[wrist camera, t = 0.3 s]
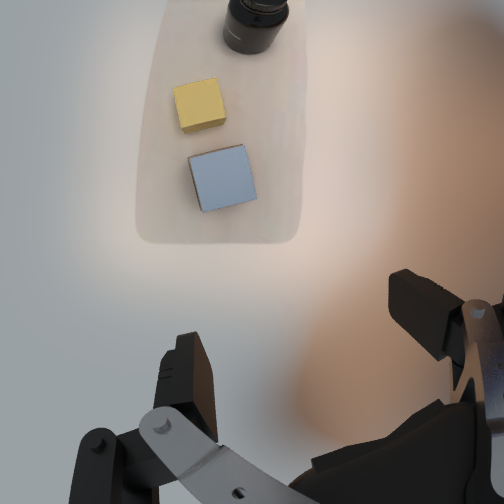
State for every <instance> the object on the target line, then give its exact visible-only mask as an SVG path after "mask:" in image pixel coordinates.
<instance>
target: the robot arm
mask: <svg viewBox="0 0 504 504" xmlns="http://www.w3.org/2000/svg"><path fill="white" fill-rule="evenodd" d="M388 308H389V312H390V315H391V317H392V318H393V319H394V320H395V321H396V322H397V323H398V324H399V325H400V326H401V327H402V328H403V329H404V330H406V331H407V332H408V333H409V334H410V335H411V336H412V337H413V338H414V339H415V340H416V341H417V342H418V343H419V344H420V345H421V346H422V347H424V348H425V349H426V350H427V351H428V352H429V353H430V354H431V355H432V356H433V357H434V358H435V359H436V360H437V361H440V360H442V359H443V358H445V357H446V356H449V357H450V361H449V386H450V399H449V404H448V405H444V404H443V403H442V402H441V401H440V399H437V400H436V401H434V402H433V403H431V404H429V405H428V406H426V407H425V408H423V409H421V410H420V411H418V412H416V413H415V414H413V415H412V416H411V417H409V418H408V419H407V420H406V421H405V422H404V423H403V424H402V425H400V426H399V427H398V428H397V429H396V430H395V431H393V432H392V433H391V434H390V435H388V436H387V437H385V438H382V439H378V440H374V441H370V442H365V443H360V444H355V445H350V446H346V447H343V448H341V449H338V450H335V451H333V452H330V453H327V454H324V455H322V456H318V457H315V458H312V459H311V462H312V468H311V469H309V470H307V471H306V472H304V473H303V474H301V475H300V476H298V477H297V478H296V479H295V480H294V481H293V482H291V483H290V484H289V485H288V486H286V485H284V484H283V483H281V482H279V481H278V480H276V479H274V478H273V477H271V476H270V475H268V474H266V473H265V472H263V471H262V470H260V469H259V468H257V467H256V466H254V465H253V464H251V463H250V462H248V461H247V460H245V459H244V458H243V457H241V456H240V455H238V454H237V453H236V452H234V451H233V450H231V449H230V448H228V447H227V446H225V445H222V446H219V445H218V444H216V443H217V442H218V433H217V422H216V410H215V397H214V384H213V373H212V368H211V365H210V362H209V359H208V357H207V355H206V352H205V350H204V347H203V345H202V342H201V340H200V337H199V335H198V333H197V332H191V333H187V334H182V335H178V336H177V339H176V348H175V349H174V350H169V351H167V353H166V354H165V355H164V357H163V358H162V360H161V363H160V369H159V370H160V372H159V375H158V381H157V387H156V393H155V399H154V406H153V410H151V411H149V412H148V413H147V414H145V416H144V417H143V418H142V419H141V421H140V424H139V428H137V429H135V430H132V431H129V432H126V433H124V434H120V435H118V436H116V435H115V434H114V433H113V432H112V431H111V430H109V429H107V428H96V429H93V430H91V431H89V432H88V433H87V434H86V435H85V436H84V437H83V438H82V440H81V443H80V446H79V450H78V455H77V459H76V464H75V469H74V474H73V480H72V485H71V492H70V497H69V504H160V503H159V486H161V485H164V484H167V483H170V482H173V481H176V480H179V481H180V483H181V484H182V485H183V486H184V487H185V488H186V489H187V490H188V491H189V492H190V493H191V494H192V495H193V496H194V497H195V498H197V499H198V500H199V501H200V502H201V503H202V504H504V295H503V299H502V303H500V304H496V305H493V306H491V305H490V304H489V303H488V302H486V301H483V300H480V299H472V300H468V301H466V302H465V301H463V300H462V299H460V298H459V297H457V296H455V295H454V294H452V293H451V292H449V291H447V290H446V289H443V287H441V286H440V285H437V283H435V282H433V281H432V280H430V279H428V278H424V277H421V276H418V275H416V274H414V273H413V272H411V271H410V270H408V269H403V270H400V271H398V272H395V273H392V274H391V275H390V276H389V299H388Z"/></svg>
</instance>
